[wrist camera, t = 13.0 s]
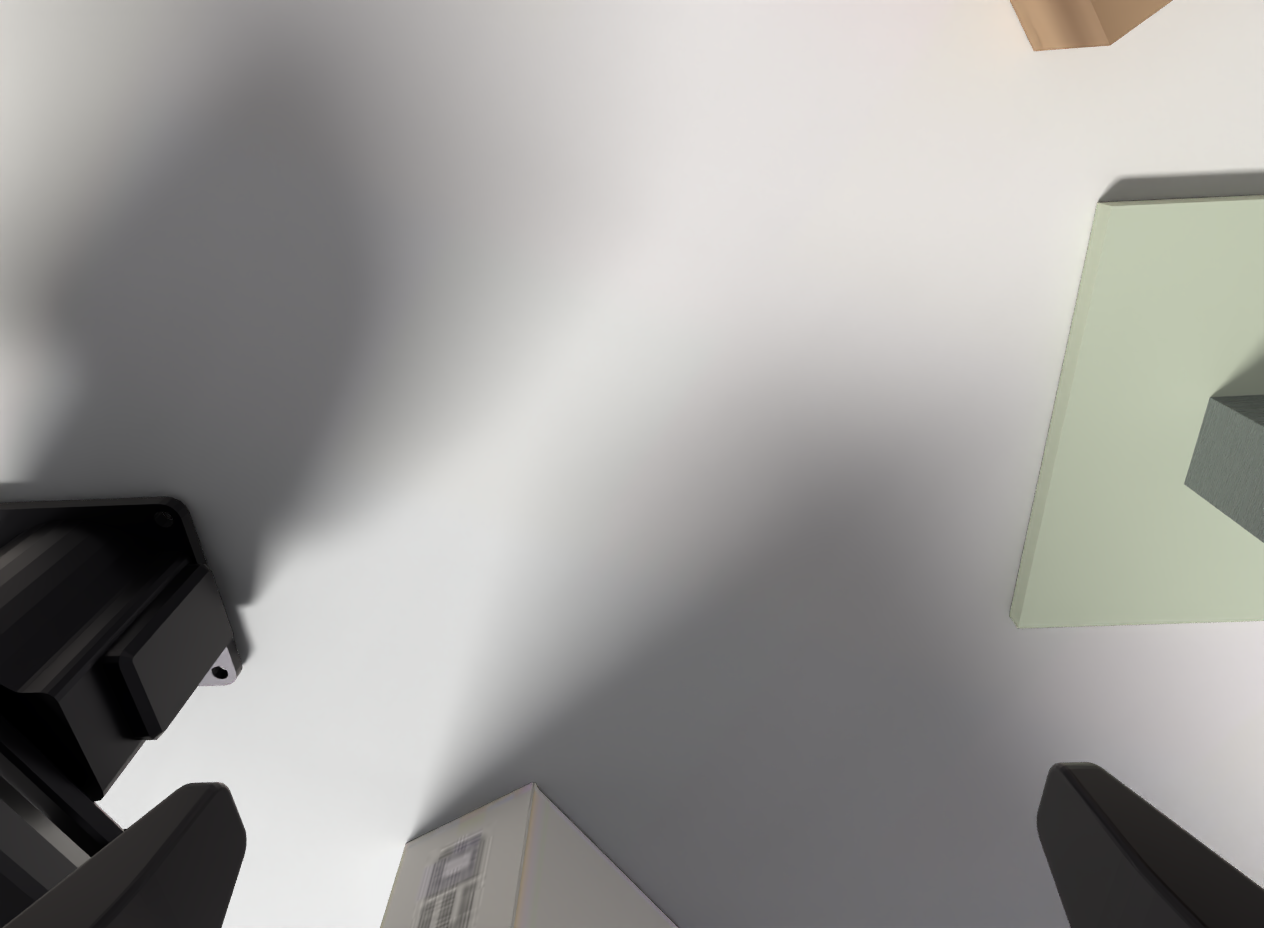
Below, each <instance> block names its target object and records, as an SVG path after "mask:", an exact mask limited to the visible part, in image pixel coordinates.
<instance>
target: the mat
mask: <svg viewBox="0 0 1264 928" xmlns="http://www.w3.org/2000/svg"><path fill="white" fill-rule="evenodd" d="M1243 395H1264V195H1251V196H1229V197H1207V198H1186V199H1164V200H1142V201H1120V202H1099V203H1097V207H1096V212H1095V216H1094V221H1093V226H1092V230H1091V235H1090V240H1089V244H1088V249H1087V254H1086V258H1085V263H1084V268H1083V272H1082V277H1081V282H1080V287H1079V291H1078V296H1077V301H1076V305H1075V310H1074V315H1073V319H1072V324H1071V329H1070V333H1069V338H1068V343H1067V347H1066V352H1065V357H1064V361H1063V366H1062V371H1061V376H1060V380H1059V385H1058V390H1057V394H1056V399H1055V404H1054V408H1053V413H1052V418H1051V422H1050V427H1049V432H1048V436H1047V441H1046V446H1045V450H1044V455H1043V460H1042V464H1041V469H1040V474H1039V479H1038V483H1037V488H1036V493H1035V497H1034V502H1033V507H1032V511H1031V516H1030V521H1029V525H1028V530H1027V535H1026V539H1025V544H1024V549H1023V553H1022V558H1021V563H1020V568H1019V572H1018V577H1017V582H1016V586H1015V591H1014V596H1013V600H1012V605H1011V610H1010V614H1009V616H1010V618H1011V619H1012V621H1013V622H1014V624H1015V625H1016V627H1017V628H1018V629H1019V628H1051V627H1083V626H1115V625H1147V624H1179V623H1211V622H1243V621H1264V543H1263V542H1262V541H1260V540H1259V539H1258V538H1256V537H1255V536H1254V535H1252V534H1251V533H1249V532H1248V531H1247V530H1245V529H1244V528H1243V527H1241V526H1240V525H1239V524H1237V523H1236V522H1235V521H1233V520H1232V519H1231V518H1229V517H1228V516H1226V515H1225V514H1224V513H1222V512H1221V511H1220V510H1218V509H1217V508H1216V507H1214V506H1213V505H1212V504H1210V503H1209V502H1208V501H1206V500H1205V499H1203V498H1202V497H1201V496H1199V495H1198V494H1197V493H1195V492H1194V491H1193V490H1191V489H1190V488H1189V487H1187V486H1186V485H1184V482H1185V479H1186V476H1187V472H1188V469H1189V465H1190V462H1191V459H1192V455H1193V452H1194V449H1195V445H1196V442H1197V439H1198V435H1199V432H1200V428H1201V425H1202V422H1203V418H1204V415H1205V412H1206V408H1207V405H1208V402H1209V398H1210V397H1223V396H1243Z"/></svg>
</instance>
